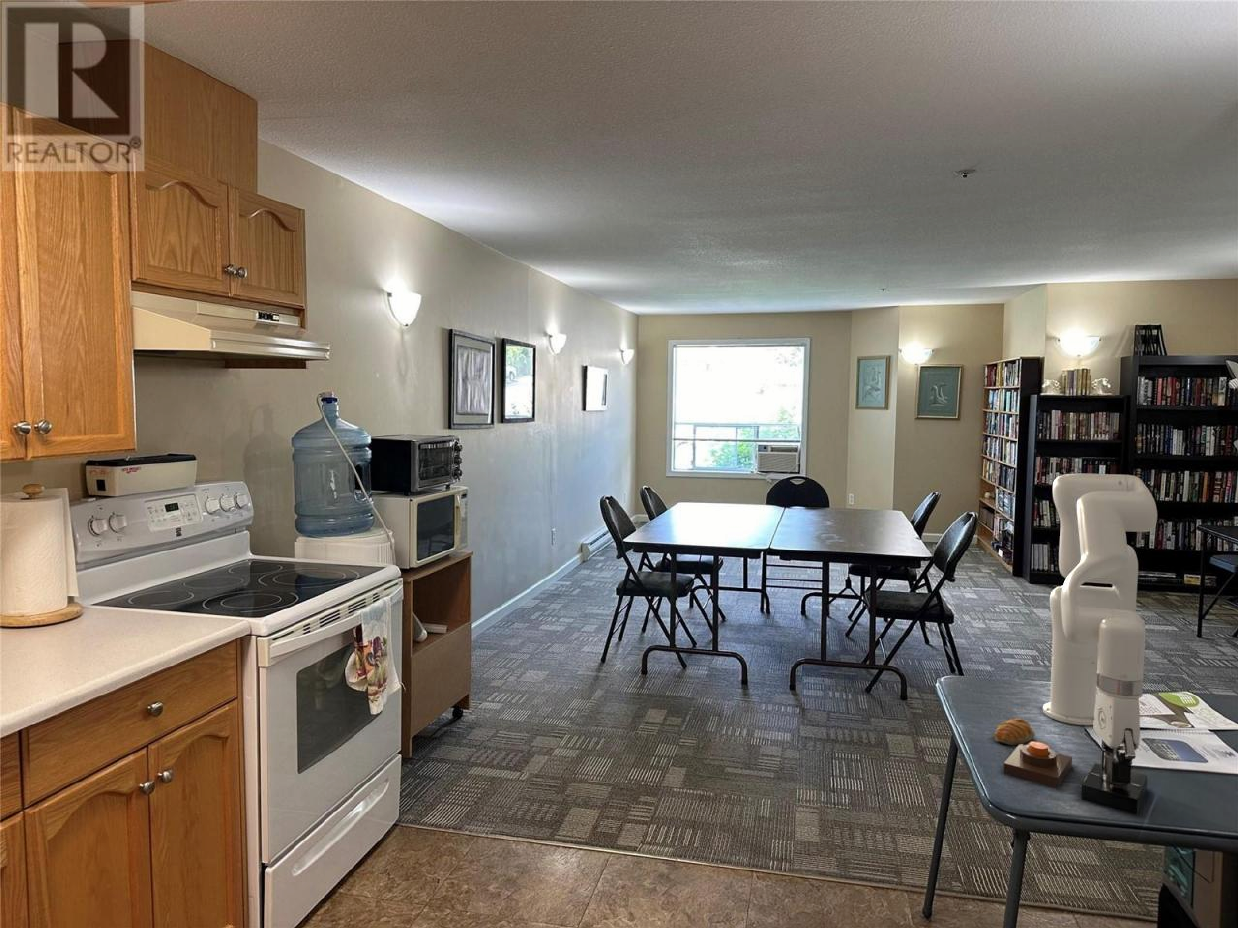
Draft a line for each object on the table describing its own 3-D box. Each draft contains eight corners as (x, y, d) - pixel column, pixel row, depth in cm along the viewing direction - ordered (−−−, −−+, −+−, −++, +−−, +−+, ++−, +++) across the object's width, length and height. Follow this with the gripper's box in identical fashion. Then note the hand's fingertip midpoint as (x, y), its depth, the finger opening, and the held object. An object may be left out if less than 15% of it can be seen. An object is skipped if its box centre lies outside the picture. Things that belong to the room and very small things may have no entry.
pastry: (1016, 750, 177) (1016, 733, 177) (986, 740, 182) (986, 723, 182) (1036, 738, 183) (1036, 722, 183) (1006, 729, 188) (1006, 713, 188)
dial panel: (1094, 776, 165) (1095, 761, 164) (1146, 790, 159) (1147, 774, 159) (1081, 799, 156) (1082, 783, 155) (1136, 815, 150) (1137, 798, 150)
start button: (1031, 747, 170) (1031, 739, 170) (1050, 752, 168) (1050, 744, 168) (1026, 753, 167) (1026, 745, 167) (1045, 758, 165) (1046, 750, 165)
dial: (1099, 774, 159) (1101, 747, 159) (1122, 775, 159) (1123, 749, 158) (1107, 783, 155) (1108, 756, 155) (1130, 785, 155) (1132, 758, 154)
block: (1019, 753, 176) (1020, 735, 175) (1071, 766, 169) (1072, 748, 169) (1003, 773, 167) (1004, 754, 166) (1057, 788, 160) (1058, 768, 160)
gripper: (1082, 668, 164) (1078, 755, 166) (1115, 699, 148) (1110, 795, 150) (1123, 670, 163) (1119, 759, 164) (1161, 701, 146) (1156, 799, 148)
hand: (1115, 775), depth 157 cm, fingers closed on dial, 4 cm apart
